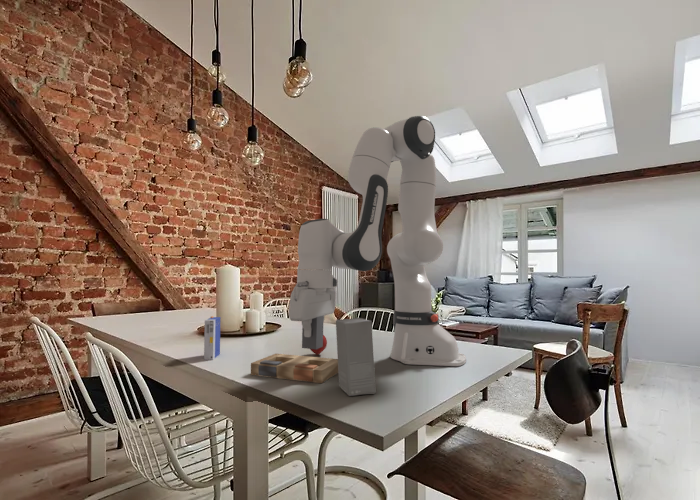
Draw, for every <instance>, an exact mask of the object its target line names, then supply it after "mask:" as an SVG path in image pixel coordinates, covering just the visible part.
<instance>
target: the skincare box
mask: <svg viewBox="0 0 700 500" xmlns="http://www.w3.org/2000/svg"><path fill="white" fill-rule="evenodd" d="M372 325H373V323H372V320H369V319H365V318H362V317H355V318H354V317H353V318H343V319H341V318H340V319H336V320H335V331H336V350H337V351H336V352H337V359H338V373H337V374H338V387H339V388H340V389H341V390H342V391H344V393H345V394H346V395H348V396H349V397H352V396H360V395H373V394H376V393H377V390H376V388H377V387H376V378H375V377H376V373H375V360H374V359H375V358H374V342H373V340H374V339H373V326H372Z"/></svg>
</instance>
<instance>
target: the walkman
mask: <svg viewBox="0 0 700 500" xmlns="http://www.w3.org/2000/svg"><path fill="white" fill-rule="evenodd" d="M203 340H204V341H203V343H204V344H203V345H204V347H203V360H205V361H209V360H210V361H214V360H215V359H216V358H217V357H218V356H220V355H221V354H220V353H221V316H213V315H212V316H210V317H209V318H207V319H204V339H203Z"/></svg>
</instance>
